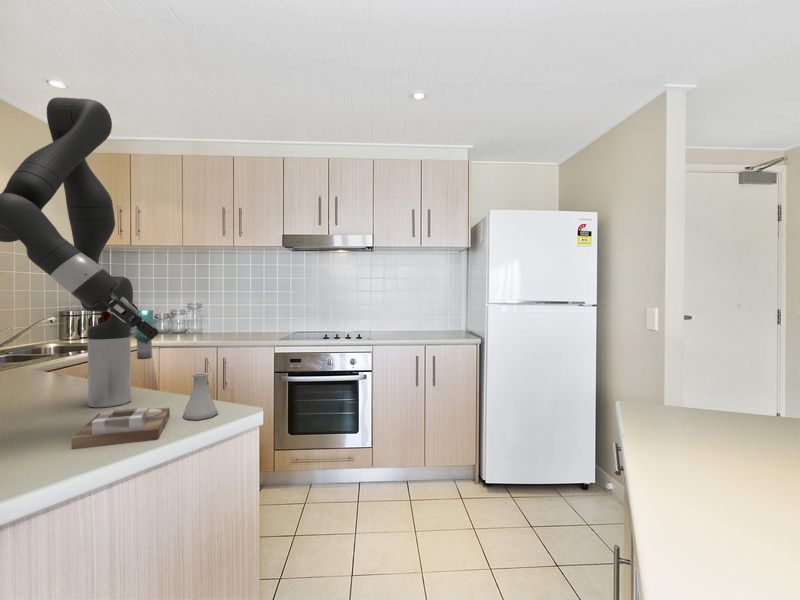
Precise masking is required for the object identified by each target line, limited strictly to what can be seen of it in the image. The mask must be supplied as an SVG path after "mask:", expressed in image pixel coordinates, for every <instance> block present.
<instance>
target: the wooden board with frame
mask: <svg viewBox="0 0 800 600" xmlns="http://www.w3.org/2000/svg"><path fill="white" fill-rule="evenodd" d="M170 409H171V408H170V406H169V407H159V408H149V407H148V406H146V407H135V408H134V407H133V408H124V409H114V410H113V409H112V410H103V411H102V412H100V413H97V414H96V415H95V416H94V417H93V418H92V419H91V420H89V422H88V423H87V424H85V425H84V426H83V427H82V428H81V429H80V430H79V431H78V432H76V433H75V434H74V436H72V437H71V450H73V449H82V448H84V449H85V448H92V447H100V446H108V445H109V446H111V445H118V444H127V443H135V442H136V443H137V442H143V441H144V442H147V441H153V440H159V438H160V436H161V434H162V433H163V430H164V428H165V426H166V424H167V422H168V420H169V418H170V416H171V415H170V414H171V412H170V411H171V410H170Z"/></svg>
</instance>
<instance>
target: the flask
mask: <svg viewBox="0 0 800 600" xmlns="http://www.w3.org/2000/svg"><path fill="white" fill-rule="evenodd" d="M191 376H192V378H193V385H192V386H193V387H192V391H191V393H190V396H189V399H188V401H187V404H186V406H185V409H184V411H183V414H182V418H184V419H186V420H192V421H194V420H197V421H199V420H200V421H201V420H204V419H205V420H206V419H209V418H213V417H215V416H217V415H218V414H219V412H218V409H217V408H216V405H215V403H214V400H213V398H212V396H211V395H212V394H211V393H210V391H209V390H210V389H209V386H208V377H209V373H208V372H198V373H194V374H192V375H191Z"/></svg>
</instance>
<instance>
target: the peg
mask: <svg viewBox="0 0 800 600" xmlns="http://www.w3.org/2000/svg"><path fill="white" fill-rule="evenodd" d="M137 310H138V309H137ZM137 314H138V315H139V316H141V317H142V318H144V320H145V321H146V322H147V323H148V324H150V325H151V326H152V327H153V328H154V327H155V326H154V322H155V321H154V310H153V309H152V310H151V309H149V310H148V309H147V310H146V309H143V310H142V309H141V310H140V309H139V310H138V313H137ZM133 317H134V318H136V317H135V316H133ZM145 321H144V322H145ZM133 329H134V339H135V340H136V359H137V360H150V359H153V348H152V347H153V344H152V342H153V341H152V340H153V339H149V338H148V337H147V336H145V335H144V334H143V333H142V332H140V331H139V330H138V329H135V328H133Z"/></svg>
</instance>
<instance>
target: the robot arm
mask: <svg viewBox="0 0 800 600" xmlns="http://www.w3.org/2000/svg"><path fill="white" fill-rule="evenodd" d="M46 120H47V125H48V129H49V133H50V137H51V139H52V142H50V143H49V144H47V145H45V146H43V147H41V148H39V149H37V150H36V151H34V152H33V153H31V154H30V155H28V156H27V157H26V158H25V159H24V160H23V161H22V162H21V164H19V166H18V167H17V168H16V170H15V171H14V172H13V173H12V175H11V176H10V178H9V180H8V182H7V183H6V186H5V188H4V189H3V191H2V192H1V193H0V242H2V243H12V242H17V241H20V242H21V243H22V244H23V245H24V246H25V248H26V249H25V250H26V255H27V257H28V259H29V260H30V261H31V262H32V263H33V264H34V265H35V266H37V267H38V268H40V269H41V270H42V271H43V272H45V273H46V274H47V275H48V276H50V277H51V278H52V279H53V280H54V281H55V282H56V283H57V284H58V285H60V287H62V288H63V289H64V290H66V291H67V292H68V293H70V294H71V295H72V296H73V297H74V298H76V299H77V300H78V301H79V302H80V304H81V306H82V308H83V309H84V310H86V311H87V312H95V313H96V312H98V313H100V312H102V313H103V312H104V313H106V312H108V313H110V316H109V317H108V319H106V320H105V321H104V322H101V323H99V324H95V325H92V326H91V327H89V328H88V329H87V400H88V401H87V406H88V407H90V408H108V407H115V406H121V405H124V404H127V403H130V402H131V401H132V382H131V381H132V376H131V375H132V374H131V373H132V371H131V366H132V365H131V364H132V363H131V361H132V360H131V357H132V354H131V350H132V349H131V330H132V328H133V329H134V328H135V329H138V330H139V331H140V332H142V333H143V334H144V335H145V336H147V337H148V338H149V339H152V340H154V339H155V337H157V336H158V335H159V331H158V329H157V327H155V326H154V328H153V327H152V326H151V325H150V324H148V323H147V322H146V321H145V320H144V318H142V317H141V316H139V315H138V314H137V313H138V309H137V308H136V307H135V306H133V301H134V290H133V285H132V282H131V280H130V279H129V278H128V277H125V276H112V274H110V273H109V272H108V271H107V270H105V269H104V268H103V267H102V266H101V265H100V264H99V261H100V257H101V254H102V252H103V250H104V248H105V246H106V245H107V243H108V241H109V240H110V238H111V237H112V234H113V232H114V231H115V227H116V220H115V219H116V218H115V211H114V206H113V205H114V204H113V200H112V197H111V194H110V193H109V192H108V190H107V189H106V188H105V186H104V184H103V183H102V182H101V181H100V179H98V177H97V176H96V174H95V173H94V172H93V170H92V169H91V168H90V166H89V164H88V162H87V158H88V157H89V156H90V155H91V154H92V153H93V152H94V151H95V150H96V149H98V147H100V146H101V145H102V144H103V143H104V142H105V141H106V140H107V139H108V138H109V136H110V135H111V133H112V130H113V129H112V127H113V124H112V123H113V121H112V118H111V114H110V112H109V110H108V109H107V108H106V106H104V104H103V103H102V102H99V101H98V100H95V99H90V98H76V97H53V98H51V99H50V100H49V101H48V102H47V105H46ZM62 184H63V188H64V195H65V202H66V205H65V206H66V210H67V214H68V216H67V217H68V220H69V225H70V230H71V234H72V235H71V236H72V240H73V244H72V243H71V242H69V241H68V240H67V239H65V238H64V237H63V236H62V234H60V232H59V231H58V229H57V228H56V226H55V225H54V224H53V223H52V222H51V221H50V219H49V218H48V216H46V215H45V213H44V212H43V211H42V210H43V208H45V206H46V205H47V204H48V203H49V202H50V201H51V200H52V199H53V197H54V196H55V194H56V193H57V192H58V190H59V189H60V187H61V186H62ZM134 316H135V317H136V318H134ZM144 321H145V322H144ZM129 401H130V402H129Z"/></svg>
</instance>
